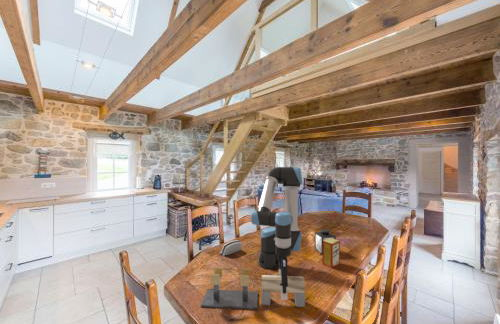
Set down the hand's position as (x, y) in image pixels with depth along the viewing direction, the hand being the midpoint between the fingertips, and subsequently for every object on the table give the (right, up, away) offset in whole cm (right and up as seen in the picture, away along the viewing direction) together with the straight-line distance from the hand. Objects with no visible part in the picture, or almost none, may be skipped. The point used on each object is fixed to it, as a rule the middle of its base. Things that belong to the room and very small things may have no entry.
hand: (282, 290), depth 99 cm
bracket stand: (-25, -5, +1) cm, 26 cm away
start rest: (0, -6, 0) cm, 6 cm away
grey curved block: (-29, -7, +56) cm, 64 cm away
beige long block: (0, 0, 0) cm, 0 cm away
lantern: (+42, -7, +59) cm, 73 cm away
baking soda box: (+38, -7, +39) cm, 55 cm away
